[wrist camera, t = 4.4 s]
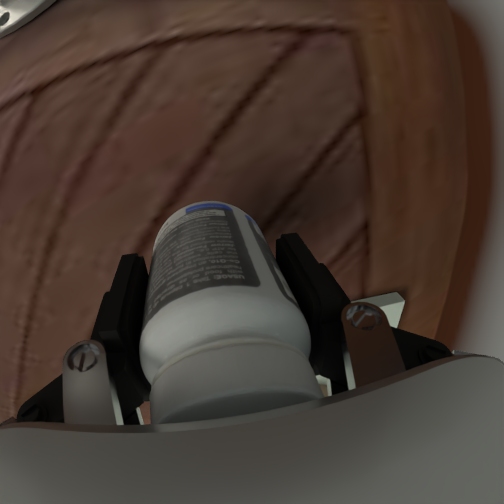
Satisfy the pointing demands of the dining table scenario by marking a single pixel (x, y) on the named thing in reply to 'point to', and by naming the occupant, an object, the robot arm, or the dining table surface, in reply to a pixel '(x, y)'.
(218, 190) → the dining table surface
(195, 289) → the pill bottle
